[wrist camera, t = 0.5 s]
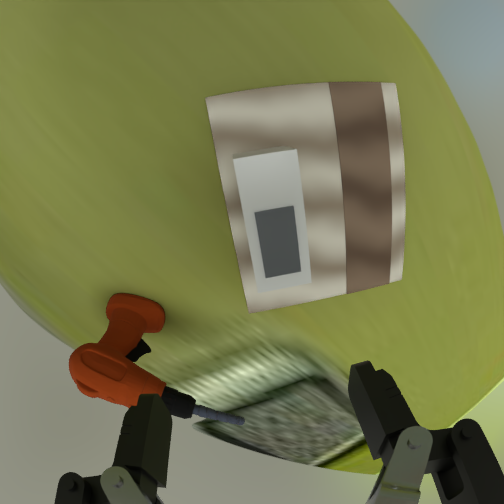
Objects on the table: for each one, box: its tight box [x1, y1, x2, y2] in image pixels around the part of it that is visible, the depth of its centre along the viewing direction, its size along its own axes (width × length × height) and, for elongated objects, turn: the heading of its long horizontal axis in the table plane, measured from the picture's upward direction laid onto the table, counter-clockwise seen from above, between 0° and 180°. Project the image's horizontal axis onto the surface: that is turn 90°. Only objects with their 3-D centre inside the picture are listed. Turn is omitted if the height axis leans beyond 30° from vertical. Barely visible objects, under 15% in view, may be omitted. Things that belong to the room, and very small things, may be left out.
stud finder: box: [232, 146, 312, 293], centre depth 26 cm, size 12×5×6 cm, turn 10°
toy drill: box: [69, 293, 245, 425], centre depth 28 cm, size 5×19×15 cm, turn 72°
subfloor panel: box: [206, 82, 405, 313], centre depth 29 cm, size 24×20×1 cm
